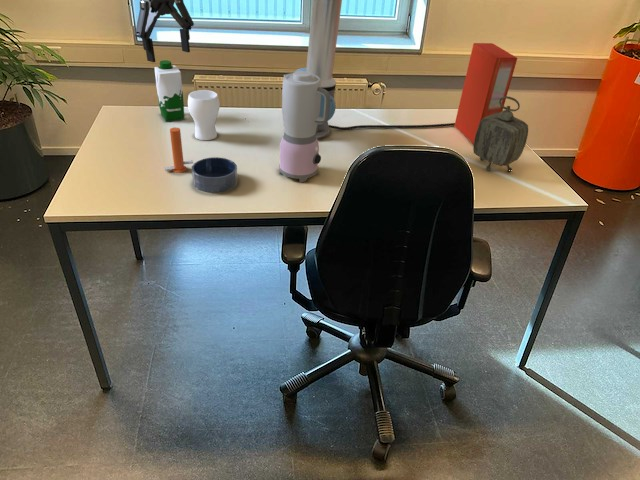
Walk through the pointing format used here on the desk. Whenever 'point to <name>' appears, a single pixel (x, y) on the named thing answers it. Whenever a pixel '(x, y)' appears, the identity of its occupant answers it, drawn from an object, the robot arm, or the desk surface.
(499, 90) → the file binder
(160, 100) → the milk carton
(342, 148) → the desk surface
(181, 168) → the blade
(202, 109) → the cup
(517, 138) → the tabletop clock
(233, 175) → the bowl
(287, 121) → the blender
